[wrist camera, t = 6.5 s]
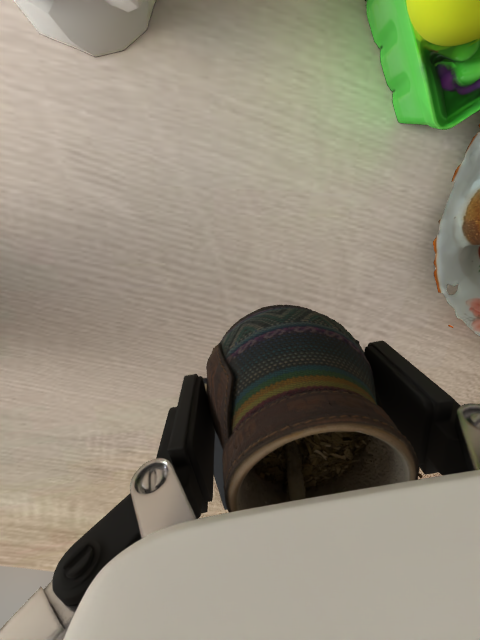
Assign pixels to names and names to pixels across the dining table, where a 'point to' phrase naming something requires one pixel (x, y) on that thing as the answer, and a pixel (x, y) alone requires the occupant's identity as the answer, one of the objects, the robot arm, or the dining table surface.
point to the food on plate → (462, 240)
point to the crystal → (90, 22)
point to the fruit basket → (429, 58)
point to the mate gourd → (299, 412)
